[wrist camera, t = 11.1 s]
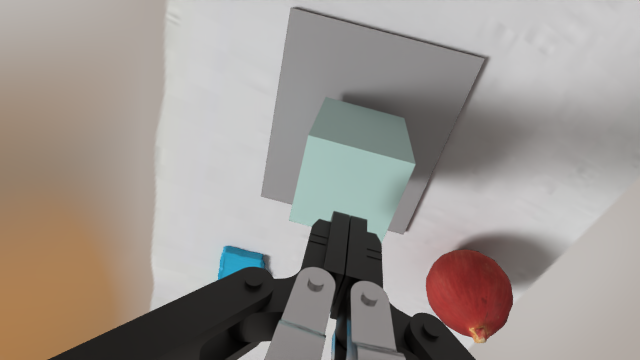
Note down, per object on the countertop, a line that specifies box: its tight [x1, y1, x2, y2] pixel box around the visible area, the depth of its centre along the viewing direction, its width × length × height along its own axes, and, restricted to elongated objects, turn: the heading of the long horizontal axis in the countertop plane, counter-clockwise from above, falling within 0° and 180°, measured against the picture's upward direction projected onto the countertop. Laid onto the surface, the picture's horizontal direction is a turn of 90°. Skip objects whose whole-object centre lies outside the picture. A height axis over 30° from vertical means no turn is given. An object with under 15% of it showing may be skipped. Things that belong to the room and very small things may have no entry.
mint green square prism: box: [289, 97, 416, 243], centre depth 20 cm, size 5×5×7 cm
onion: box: [426, 249, 513, 343], centre depth 24 cm, size 6×6×8 cm
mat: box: [261, 8, 484, 234], centre depth 23 cm, size 14×12×1 cm
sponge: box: [218, 246, 265, 280], centre depth 34 cm, size 2×12×6 cm
